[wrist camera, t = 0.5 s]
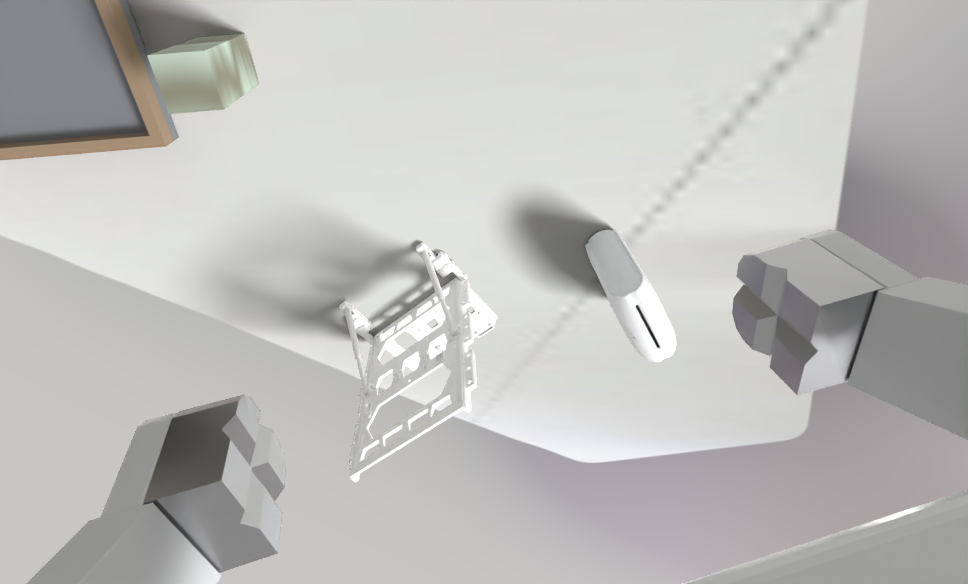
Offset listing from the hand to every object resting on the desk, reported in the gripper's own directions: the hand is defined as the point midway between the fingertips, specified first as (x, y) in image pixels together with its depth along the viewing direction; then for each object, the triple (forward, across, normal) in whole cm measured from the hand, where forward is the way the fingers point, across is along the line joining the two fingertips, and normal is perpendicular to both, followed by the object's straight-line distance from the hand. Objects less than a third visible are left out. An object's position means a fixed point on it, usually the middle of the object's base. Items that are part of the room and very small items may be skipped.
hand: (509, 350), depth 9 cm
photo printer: (+40, -19, +29) cm, 53 cm away
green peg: (+46, +13, +2) cm, 48 cm away
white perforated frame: (+43, +3, +31) cm, 53 cm away
